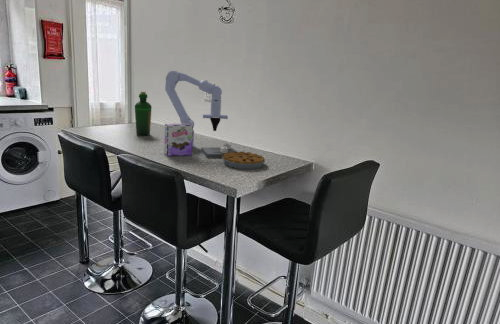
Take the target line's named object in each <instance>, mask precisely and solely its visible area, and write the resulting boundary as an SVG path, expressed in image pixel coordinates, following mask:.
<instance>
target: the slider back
mask: <svg viewBox="0 0 500 324" xmlns="http://www.w3.org/2000/svg"><path fill="white" fill-rule="evenodd" d="M223 146H224V147H227V148H228V149H230V148H232V147H231V143H229V142H223Z"/></svg>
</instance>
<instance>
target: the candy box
mask: <svg viewBox="0 0 500 324" xmlns="http://www.w3.org/2000/svg"><path fill="white" fill-rule="evenodd" d="M193 130H194V127H193V125H191V124H182V123H166V122H165V123H164V139H163V140H164V141H163V143H164V144H163V154H164V155H165V156H166V157H177V156H178V157H180V156H193V147H192V141H193Z"/></svg>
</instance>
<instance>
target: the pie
mask: <svg viewBox="0 0 500 324" xmlns="http://www.w3.org/2000/svg"><path fill="white" fill-rule="evenodd" d="M221 159H222V160H223V162H224V165H226V166H228V167H229V166H230V168H233V167H234V168H233V169H238V168H240V169H239V170H253V169H259V168H262V167H263V166H262V165H263V164H264V163H265V161H266V159H265V157H264V156H262V155H260V154H257V153H252V152H249V151H247V152H245V151H239V152H238V151H237V152H232V153H230V152H227V153H226V154H225V153H224V154H223V156H222V158H221Z"/></svg>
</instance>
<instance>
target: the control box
mask: <svg viewBox="0 0 500 324" xmlns="http://www.w3.org/2000/svg"><path fill="white" fill-rule="evenodd" d="M220 147H221V146H220ZM220 147H219V146H218V147H208V146H207V147H205V146H203V147H201V148H200V151H201V153H202V154H203V155H204V156H205V158H207V159H217V158H218V159H223V158H222V156H223V154H224V153H222V152H221V151H220ZM228 152H230V153H232V152H238V151H237V150H236V149H235V148H233V147H231V148H230V149H228ZM225 154H226V153H225Z"/></svg>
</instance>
